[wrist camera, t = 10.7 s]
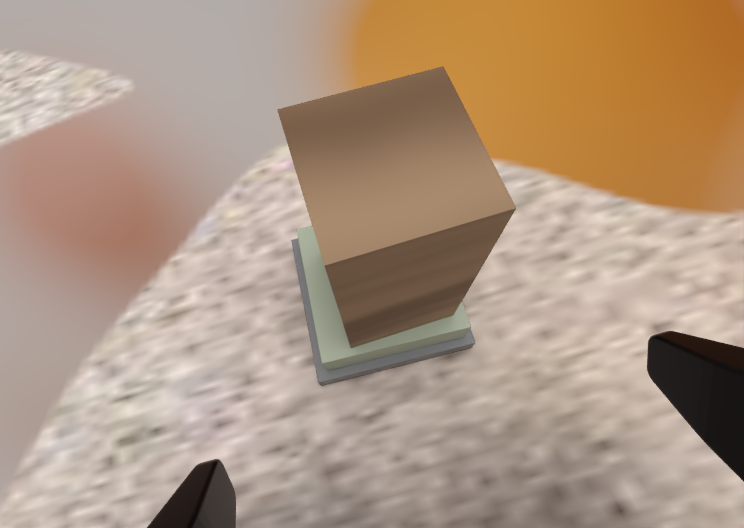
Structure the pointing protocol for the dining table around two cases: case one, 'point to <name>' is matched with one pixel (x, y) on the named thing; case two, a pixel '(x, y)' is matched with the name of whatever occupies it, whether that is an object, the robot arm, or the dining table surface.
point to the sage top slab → (332, 328)
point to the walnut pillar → (397, 199)
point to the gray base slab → (375, 364)
